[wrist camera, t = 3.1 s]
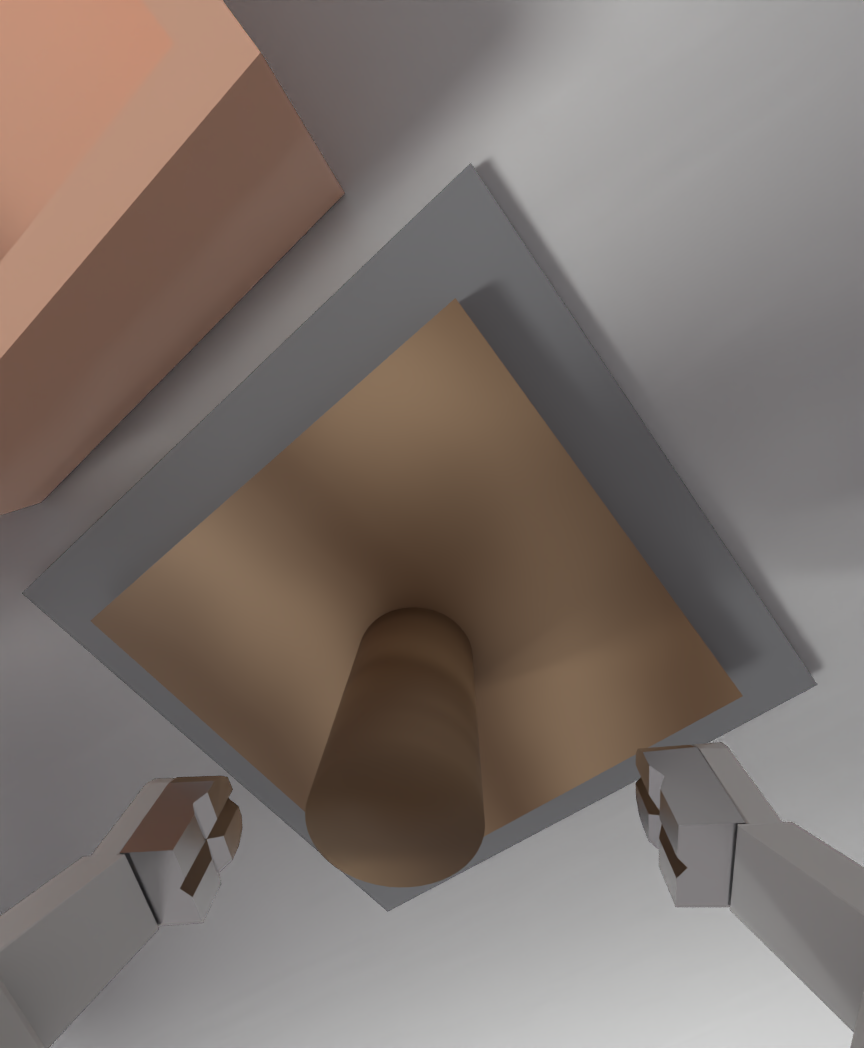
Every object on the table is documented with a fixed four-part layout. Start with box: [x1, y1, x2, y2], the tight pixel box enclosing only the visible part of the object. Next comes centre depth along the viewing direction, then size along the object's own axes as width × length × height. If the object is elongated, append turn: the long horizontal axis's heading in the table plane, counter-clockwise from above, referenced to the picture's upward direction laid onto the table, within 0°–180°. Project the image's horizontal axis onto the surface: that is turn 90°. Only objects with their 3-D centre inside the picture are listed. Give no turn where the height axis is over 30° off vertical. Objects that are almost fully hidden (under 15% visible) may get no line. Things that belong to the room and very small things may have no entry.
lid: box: [91, 298, 743, 887], centre depth 11 cm, size 13×13×6 cm
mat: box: [22, 163, 817, 912], centre depth 14 cm, size 17×17×1 cm
